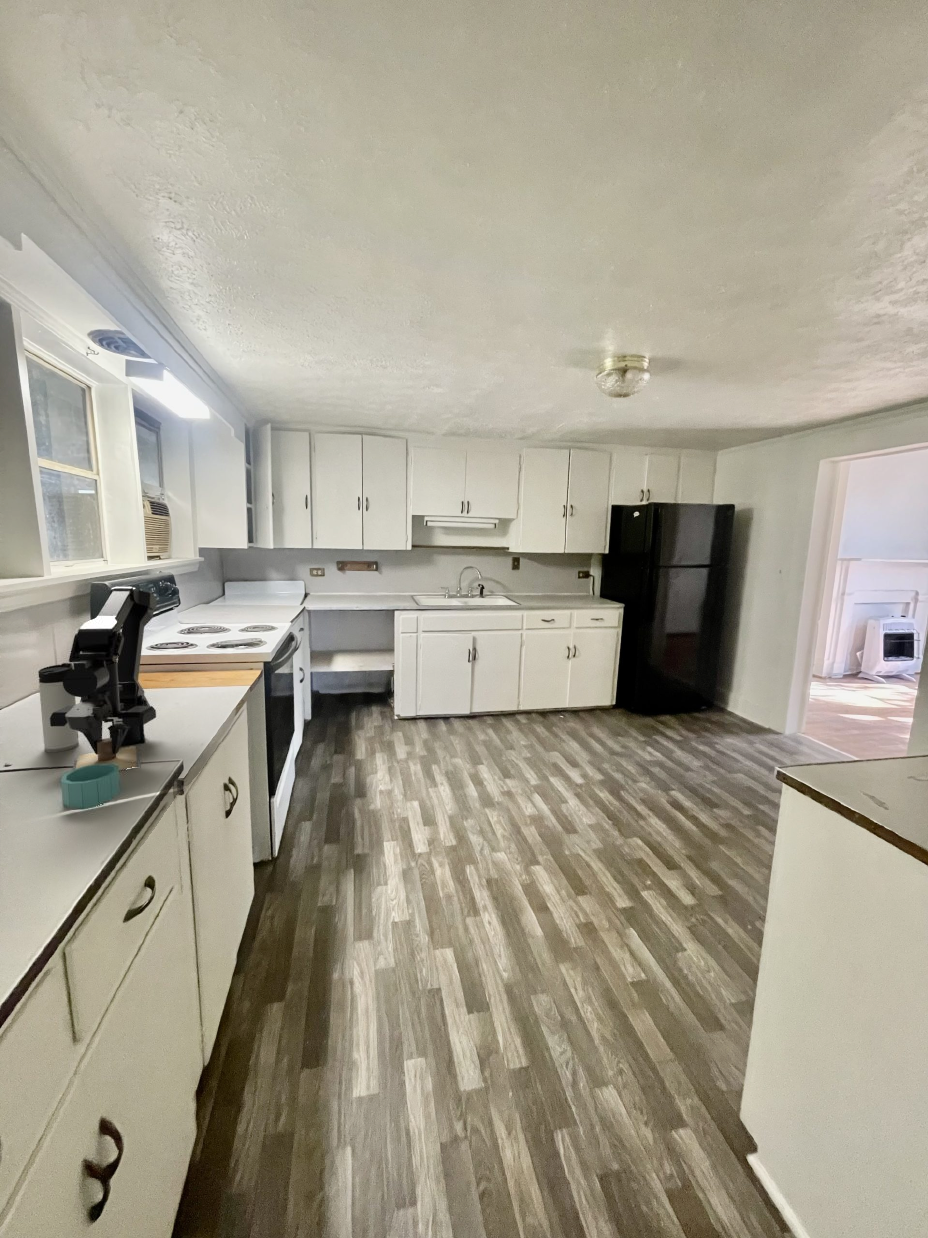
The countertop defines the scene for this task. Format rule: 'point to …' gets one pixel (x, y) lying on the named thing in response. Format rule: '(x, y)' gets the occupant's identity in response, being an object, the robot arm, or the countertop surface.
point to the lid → (109, 756)
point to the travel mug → (56, 708)
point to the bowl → (90, 785)
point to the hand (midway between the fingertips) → (106, 753)
